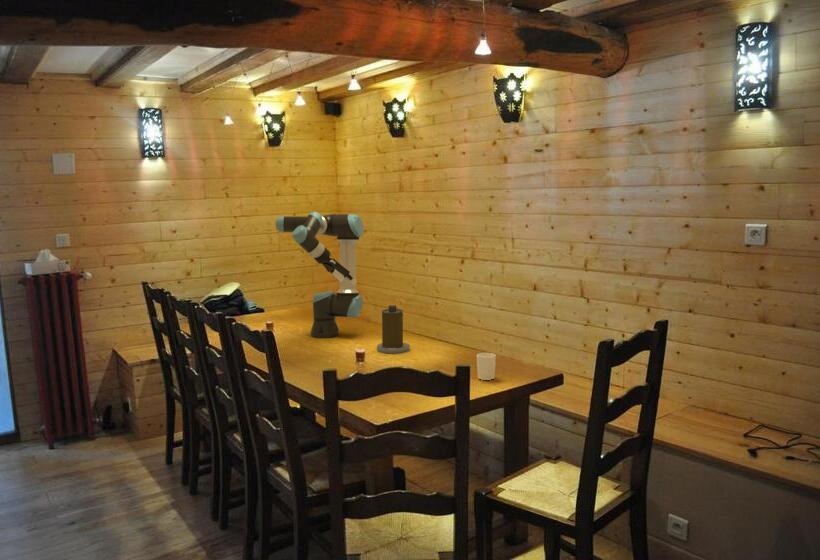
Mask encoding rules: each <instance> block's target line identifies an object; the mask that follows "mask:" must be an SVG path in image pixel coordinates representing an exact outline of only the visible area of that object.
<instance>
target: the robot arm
mask: <svg viewBox="0 0 820 560" xmlns="http://www.w3.org/2000/svg"><path fill="white" fill-rule="evenodd" d="M275 229H276V230H277V231H278V232H279V233H292V234H291V237H292V239H293V240H294V241H295V242H296V244H297V245H299V246H300V247H301V248H302V249H303V250H304V251H305V252H306V253H308V256H309V257H312V258H313V259H314V260H315V262H316V263H318V264H319V265H321V264H322V266H323V267H324V268H325V270H326V271H327V273H330V274H332V275H333V276H334V277H335V279H337V280H338V281H339V288H338V290H337V291H336V292H335V291H331V290H330V291H323V292H317V293H315V294H313V296H312V297H313V298H312V310H313V311H312V312H313V316H312V317H313V322H312V326H311V329H310V336H311V337H312V338H319V339H322V338H323V339H324V338H325V339H327V338H334V337H337V336H339V335H340V330H339V329H340V328H339V327H338V324H337V321H336V318H337V317H339V318H340V317H341V318H349V319H351V318H357V317H358V316H359V315H360V314H361V312H362V309H363V306H364V305H363V304H364V300H363V297H362V296H361V295H360V291H358V290H357V283H358V280H357V243H358V242H359V241H360V237H363V235H364V234H363V233H364V223H363V220H362V218H361V216H360V215H358V214H352V213H347V214H346V213H343V214H342V213H339V214H338V213H334V214H333V213H332V214H324V215H322V214H320V212H317V211H312V212H310V213H308V214H307V216H300V215H299V216H298V215H297V216H295V215H294V216H291V215H290V216H288V215H287V216H285V215H283V216H281V215H280V216H277V218H276V220H275ZM317 235H323V236H329V237H336V240H337V242H338V243H339V261H338V260H336V259H335V258H332V257H331V252H330V250H329V249H328V248H326V246H325V245H323V243H321V241H319V239H318V238H317V237H316V236H317Z"/></svg>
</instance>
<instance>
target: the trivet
mask: <svg viewBox="0 0 820 560" xmlns="http://www.w3.org/2000/svg"><path fill="white" fill-rule="evenodd" d="M410 346H411V345H410V344H409V343H406V342H403V347H400V348H385V347H382V342H381V343H378V344H377V345H376V351H377V352H378V353H381V354H387V355H388V354H389V355H396V354H404V352H405V353H408V352H409V351H411V350H410V349H411V347H410ZM407 351H408V352H407Z"/></svg>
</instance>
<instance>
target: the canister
mask: <svg viewBox="0 0 820 560" xmlns="http://www.w3.org/2000/svg"><path fill="white" fill-rule="evenodd" d="M403 313H404V311H403V309H399V308H398V307H397V305H396V304H389V305H388V308H387V309H382V310H381V318H382V319H381V330H382V331H381V335H382V337H381V339H382V340H381V343H382V347H385V348H400V347H403V343H404V331H403V330H404V319H403V318H404V317H403V315H404V314H403Z"/></svg>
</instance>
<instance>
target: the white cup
mask: <svg viewBox="0 0 820 560" xmlns="http://www.w3.org/2000/svg"><path fill="white" fill-rule="evenodd" d="M496 358H497V355H496V354H495V353H491V352H480V353H477V354H476V368H477V372H476V373H477V379H478V378H479V379H484V380H491V379H494V380H495V376H496V374H495V373H496V361H497V359H496ZM479 379H478V380H479ZM491 381H492V380H491Z"/></svg>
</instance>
